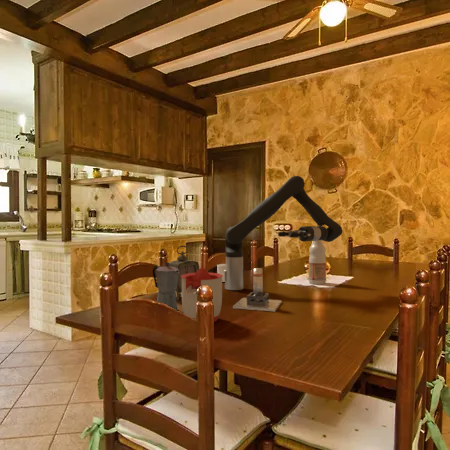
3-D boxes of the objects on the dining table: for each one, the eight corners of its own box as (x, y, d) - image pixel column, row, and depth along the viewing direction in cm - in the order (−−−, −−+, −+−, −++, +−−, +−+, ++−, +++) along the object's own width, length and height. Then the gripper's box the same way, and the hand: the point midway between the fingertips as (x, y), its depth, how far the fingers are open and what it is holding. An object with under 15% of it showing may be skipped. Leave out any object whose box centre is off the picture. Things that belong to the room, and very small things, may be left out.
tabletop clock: (176, 301, 165) (176, 247, 165) (164, 298, 171) (163, 246, 171) (199, 296, 176) (199, 245, 175) (187, 293, 182) (187, 244, 181)
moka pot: (172, 315, 143) (171, 264, 142) (143, 310, 151) (143, 262, 150) (187, 310, 151) (186, 262, 150) (159, 305, 159) (159, 259, 158)
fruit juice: (305, 283, 209) (305, 234, 208) (314, 281, 215) (314, 233, 214) (320, 285, 202) (320, 235, 201) (328, 283, 208) (329, 234, 208)
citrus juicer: (171, 325, 130) (170, 269, 129) (192, 313, 146) (192, 263, 146) (210, 330, 124) (210, 272, 124) (229, 317, 140) (228, 265, 140)
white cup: (232, 280, 217) (232, 264, 217) (227, 283, 210) (227, 266, 209) (219, 280, 220) (219, 263, 219) (215, 282, 212) (215, 265, 212)
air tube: (252, 303, 157) (252, 269, 156) (254, 301, 161) (254, 267, 160) (261, 304, 155) (261, 269, 155) (263, 302, 159) (263, 268, 159)
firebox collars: (232, 308, 153) (232, 297, 153) (242, 299, 168) (242, 289, 168) (275, 311, 148) (275, 300, 147) (281, 302, 163) (281, 291, 163)
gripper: (299, 225, 186) (274, 226, 177) (320, 226, 173) (294, 227, 165) (299, 240, 186) (274, 241, 177) (320, 242, 174) (294, 243, 165)
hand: (284, 234), depth 171 cm, fingers open, 8 cm apart
